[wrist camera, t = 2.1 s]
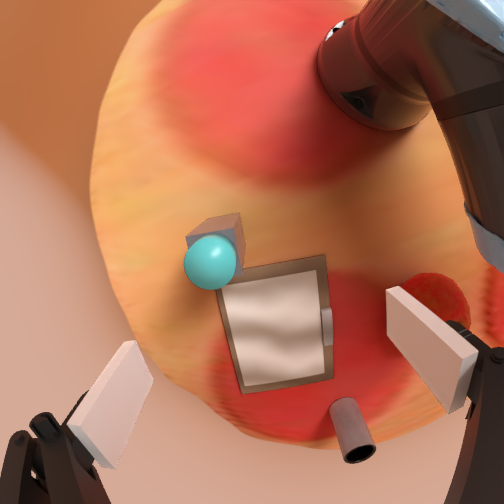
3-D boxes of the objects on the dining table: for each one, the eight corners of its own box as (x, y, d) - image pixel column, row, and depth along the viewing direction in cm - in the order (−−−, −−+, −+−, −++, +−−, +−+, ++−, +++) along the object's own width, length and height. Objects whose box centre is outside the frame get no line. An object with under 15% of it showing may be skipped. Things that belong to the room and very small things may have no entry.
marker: (207, 218, 32) (177, 243, 18) (239, 212, 31) (231, 233, 18) (213, 249, 32) (189, 294, 19) (245, 244, 32) (241, 286, 19)
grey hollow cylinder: (341, 393, 37) (360, 442, 27) (362, 401, 38) (382, 447, 28) (323, 412, 38) (336, 461, 28) (343, 419, 39) (359, 465, 29)
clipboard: (212, 273, 33) (211, 276, 32) (324, 254, 32) (326, 257, 31) (242, 392, 37) (241, 397, 36) (333, 376, 37) (335, 381, 35)
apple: (453, 283, 34) (498, 310, 23) (417, 343, 36) (452, 382, 26) (408, 252, 33) (457, 278, 22) (369, 321, 35) (403, 365, 24)
